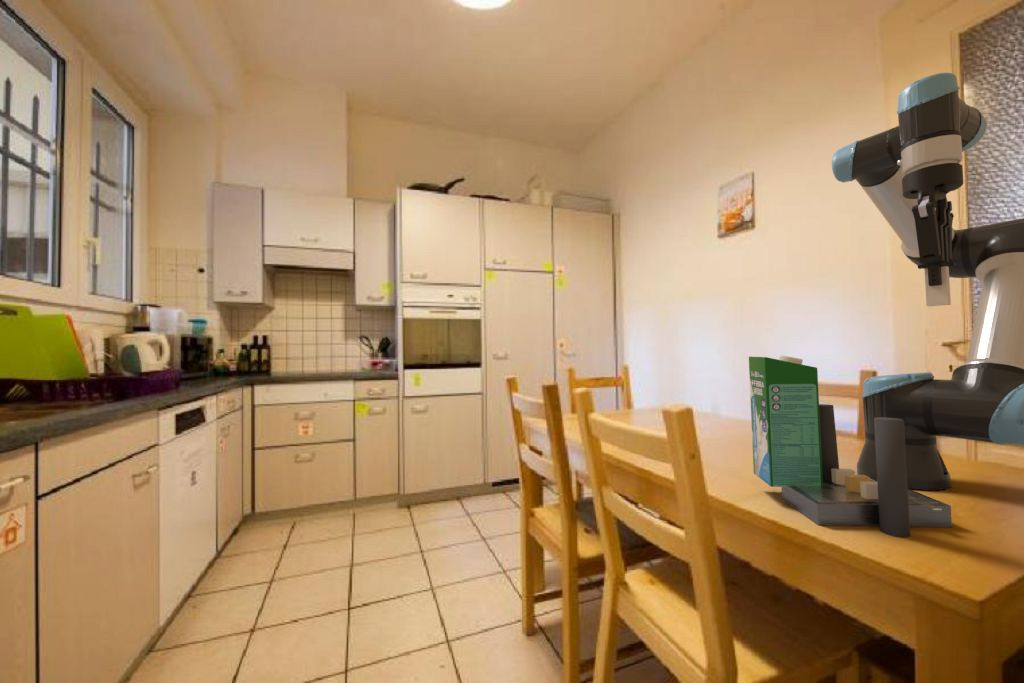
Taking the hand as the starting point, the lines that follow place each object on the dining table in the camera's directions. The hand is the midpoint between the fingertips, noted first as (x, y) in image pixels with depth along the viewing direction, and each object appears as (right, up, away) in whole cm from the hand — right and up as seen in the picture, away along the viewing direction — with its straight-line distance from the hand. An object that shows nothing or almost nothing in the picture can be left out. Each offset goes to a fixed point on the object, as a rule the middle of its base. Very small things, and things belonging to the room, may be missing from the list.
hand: (938, 305), depth 73 cm
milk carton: (-19, -34, +12) cm, 41 cm away
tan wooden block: (-12, -33, +3) cm, 35 cm away
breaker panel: (-11, -37, +3) cm, 39 cm away
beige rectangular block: (-12, -33, -1) cm, 35 cm away
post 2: (-12, -37, -5) cm, 39 cm away
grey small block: (-11, -33, +7) cm, 36 cm away
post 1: (-10, -37, +11) cm, 40 cm away
